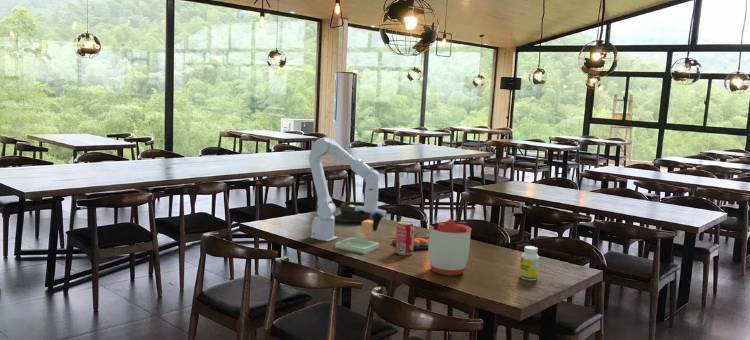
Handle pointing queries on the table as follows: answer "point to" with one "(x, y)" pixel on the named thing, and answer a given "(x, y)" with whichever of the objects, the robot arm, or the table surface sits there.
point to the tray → (357, 245)
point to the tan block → (368, 227)
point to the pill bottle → (529, 263)
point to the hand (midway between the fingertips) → (369, 229)
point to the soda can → (404, 238)
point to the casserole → (351, 213)
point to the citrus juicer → (449, 247)
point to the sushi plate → (418, 242)
